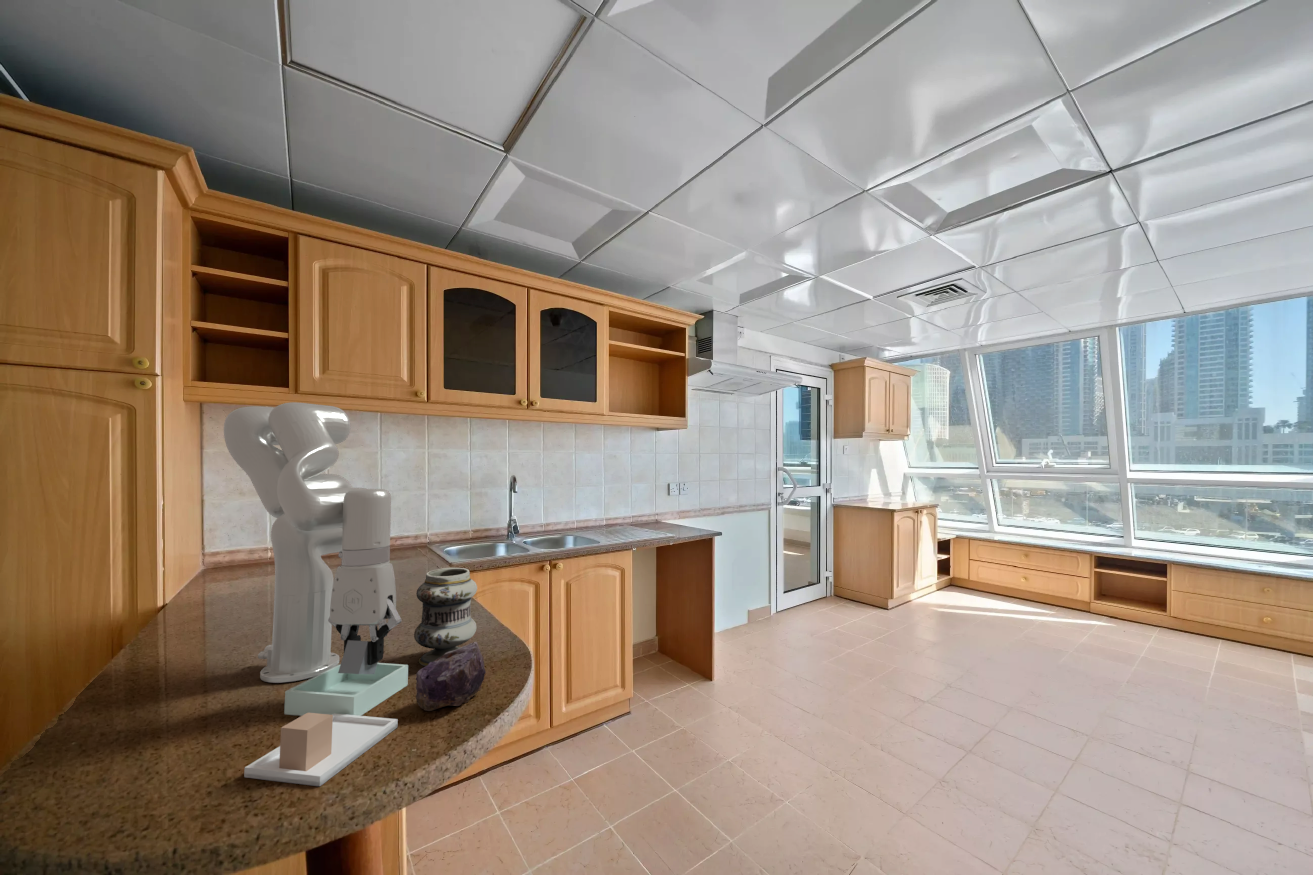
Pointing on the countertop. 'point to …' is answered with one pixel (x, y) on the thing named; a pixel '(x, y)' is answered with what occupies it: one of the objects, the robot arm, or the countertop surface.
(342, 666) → the matte grey cube
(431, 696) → the rock
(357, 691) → the seafoam storage bin
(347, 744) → the tray
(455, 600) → the apothecary jar
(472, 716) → the countertop surface
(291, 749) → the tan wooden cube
